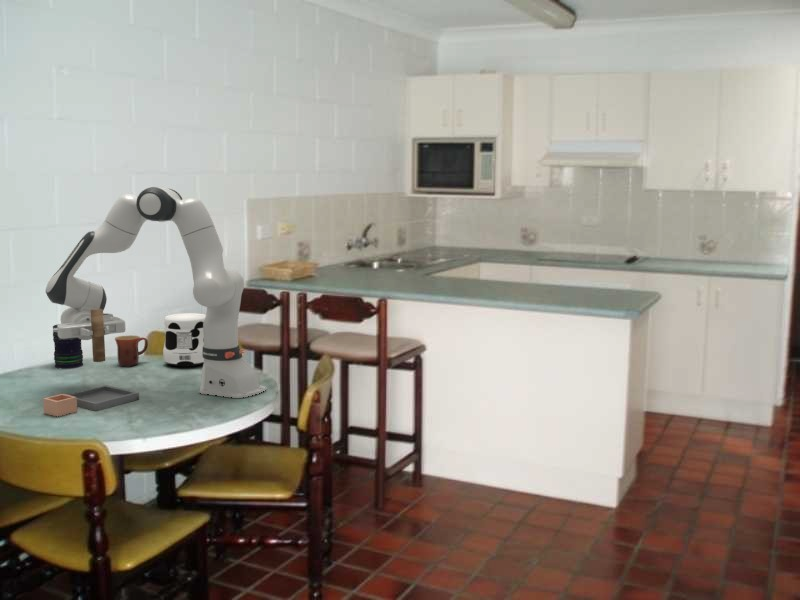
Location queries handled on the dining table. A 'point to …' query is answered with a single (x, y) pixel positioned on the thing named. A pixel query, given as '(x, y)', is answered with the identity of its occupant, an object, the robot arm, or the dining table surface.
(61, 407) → the pot
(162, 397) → the dining table surface
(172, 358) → the milk container
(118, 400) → the tray
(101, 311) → the dowel
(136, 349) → the mug
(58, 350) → the storage jar
